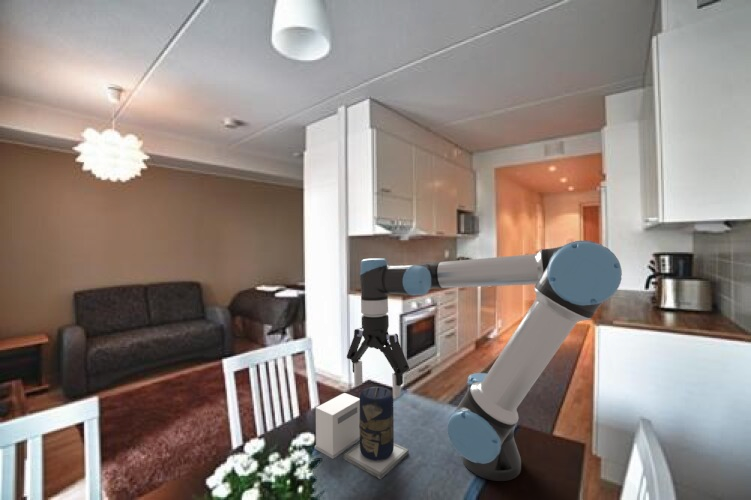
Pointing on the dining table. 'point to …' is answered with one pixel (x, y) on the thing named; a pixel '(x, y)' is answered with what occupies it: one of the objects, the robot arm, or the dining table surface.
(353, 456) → the mat
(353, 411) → the unit
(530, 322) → the robot arm
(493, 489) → the dining table surface
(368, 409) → the canister
